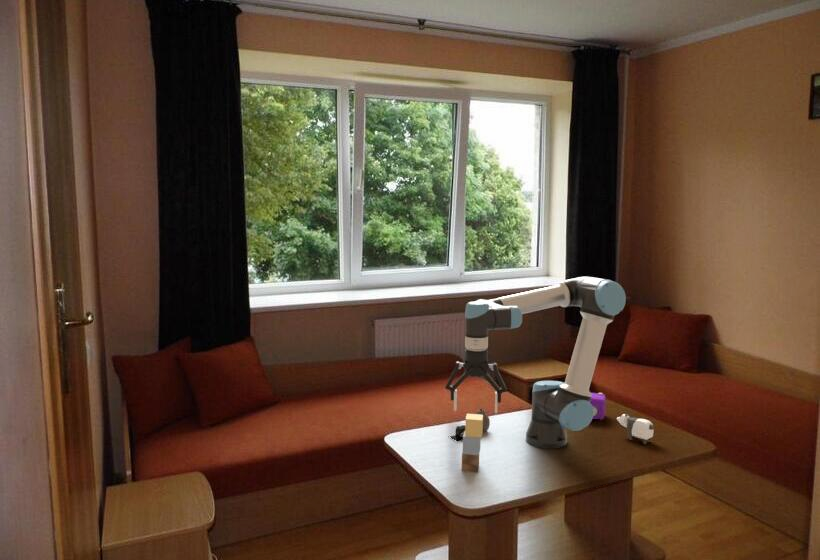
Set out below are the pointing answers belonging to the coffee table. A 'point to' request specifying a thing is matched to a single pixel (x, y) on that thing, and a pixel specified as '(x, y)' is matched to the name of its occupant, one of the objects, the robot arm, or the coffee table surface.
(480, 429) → the yellow cube
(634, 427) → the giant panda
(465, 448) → the gray brick
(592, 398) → the toy camera
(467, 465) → the walnut brick
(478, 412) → the vase
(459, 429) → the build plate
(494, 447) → the coffee table surface
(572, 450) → the coffee table surface
